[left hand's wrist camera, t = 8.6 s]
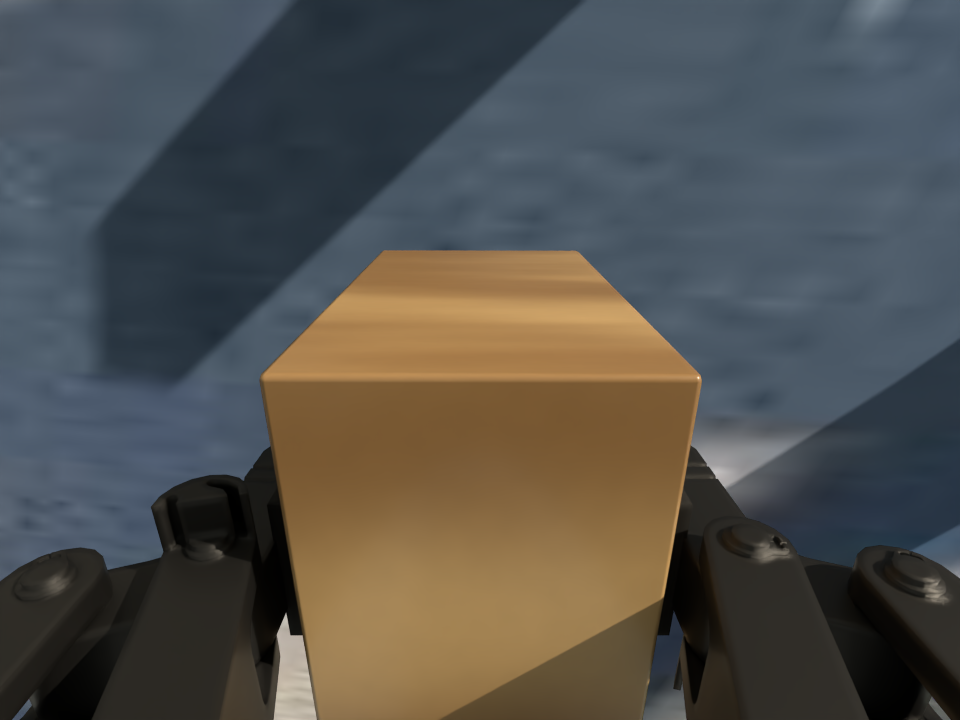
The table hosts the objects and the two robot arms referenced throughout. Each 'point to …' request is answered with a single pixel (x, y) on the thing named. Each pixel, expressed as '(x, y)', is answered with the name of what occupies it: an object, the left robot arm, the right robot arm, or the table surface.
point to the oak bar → (480, 488)
